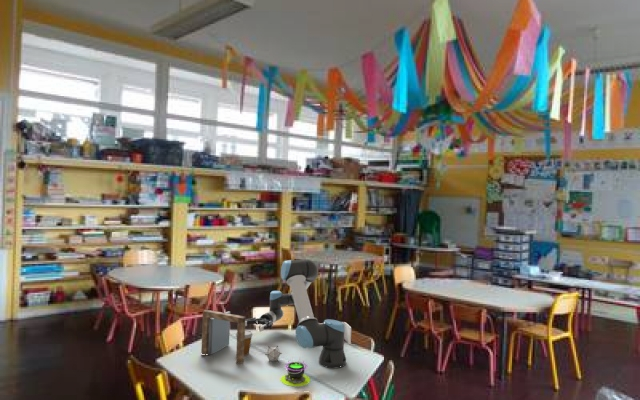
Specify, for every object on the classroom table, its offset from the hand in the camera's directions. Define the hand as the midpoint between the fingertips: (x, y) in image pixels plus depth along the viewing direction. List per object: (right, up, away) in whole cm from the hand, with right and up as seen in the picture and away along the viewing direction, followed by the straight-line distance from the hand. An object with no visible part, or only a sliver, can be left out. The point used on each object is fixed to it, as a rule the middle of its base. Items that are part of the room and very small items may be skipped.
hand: (250, 327), depth 273 cm
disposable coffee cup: (-2, -12, -11) cm, 16 cm away
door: (-18, -10, -8) cm, 22 cm away
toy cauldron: (+29, -15, -43) cm, 54 cm away
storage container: (+47, -13, +13) cm, 51 cm away
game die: (+16, -13, -20) cm, 29 cm away
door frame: (-13, -12, -20) cm, 26 cm away
